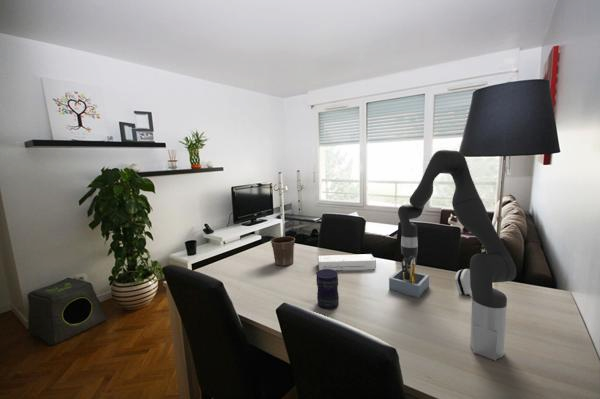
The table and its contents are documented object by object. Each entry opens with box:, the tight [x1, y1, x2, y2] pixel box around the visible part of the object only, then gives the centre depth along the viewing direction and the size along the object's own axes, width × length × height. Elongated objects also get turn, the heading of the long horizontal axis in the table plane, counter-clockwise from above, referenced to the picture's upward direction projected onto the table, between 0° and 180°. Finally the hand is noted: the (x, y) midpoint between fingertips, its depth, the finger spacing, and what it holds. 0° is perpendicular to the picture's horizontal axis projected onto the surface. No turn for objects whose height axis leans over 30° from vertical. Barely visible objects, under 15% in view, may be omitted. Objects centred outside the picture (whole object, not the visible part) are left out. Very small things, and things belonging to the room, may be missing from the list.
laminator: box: [317, 253, 377, 271], centre depth 165 cm, size 34×12×6 cm, turn 87°
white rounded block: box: [454, 268, 472, 298], centre depth 130 cm, size 17×5×10 cm, turn 137°
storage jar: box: [316, 269, 340, 311], centre depth 121 cm, size 10×10×15 cm
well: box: [388, 268, 430, 299], centre depth 133 cm, size 14×14×6 cm
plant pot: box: [270, 236, 296, 266], centre depth 175 cm, size 16×16×16 cm
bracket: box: [403, 264, 416, 284], centre depth 132 cm, size 5×4×10 cm
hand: (409, 277), depth 132 cm, fingers open, 5 cm apart
